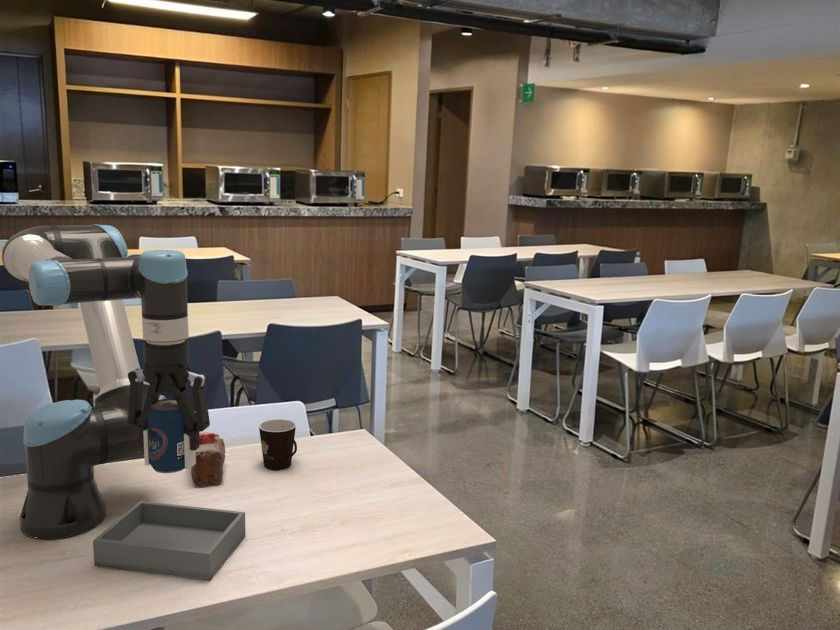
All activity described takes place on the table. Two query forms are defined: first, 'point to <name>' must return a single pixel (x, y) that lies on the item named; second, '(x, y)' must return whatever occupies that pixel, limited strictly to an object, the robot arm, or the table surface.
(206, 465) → the food item
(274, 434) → the coffee mug
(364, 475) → the table surface
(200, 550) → the bin
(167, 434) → the soda can
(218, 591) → the table surface
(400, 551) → the table surface
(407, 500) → the table surface
